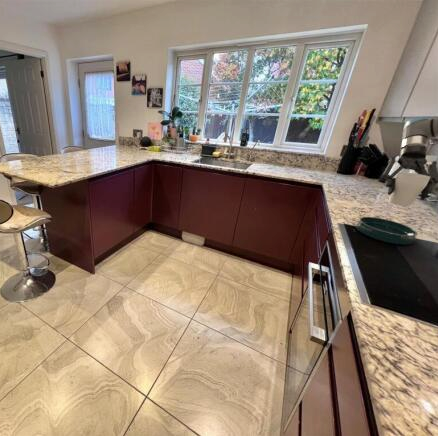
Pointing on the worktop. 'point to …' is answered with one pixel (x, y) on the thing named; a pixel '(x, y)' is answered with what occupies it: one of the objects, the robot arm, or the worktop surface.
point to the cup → (408, 188)
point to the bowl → (386, 230)
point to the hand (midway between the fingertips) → (407, 195)
